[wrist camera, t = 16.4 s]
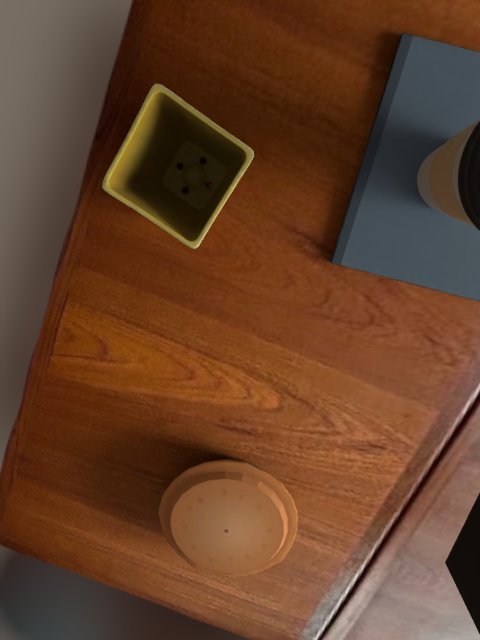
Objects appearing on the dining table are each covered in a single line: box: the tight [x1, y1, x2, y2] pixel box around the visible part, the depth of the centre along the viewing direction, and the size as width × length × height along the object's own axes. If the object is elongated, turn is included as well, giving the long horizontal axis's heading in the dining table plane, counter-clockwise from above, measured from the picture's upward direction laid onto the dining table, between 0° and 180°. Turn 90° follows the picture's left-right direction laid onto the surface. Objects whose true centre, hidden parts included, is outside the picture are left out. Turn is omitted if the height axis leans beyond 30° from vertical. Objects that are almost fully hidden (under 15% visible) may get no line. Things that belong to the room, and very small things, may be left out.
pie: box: [158, 459, 298, 577], centre depth 47 cm, size 16×16×5 cm
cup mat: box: [331, 33, 480, 301], centre depth 38 cm, size 20×16×1 cm
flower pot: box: [102, 84, 254, 249], centre depth 36 cm, size 9×9×9 cm
